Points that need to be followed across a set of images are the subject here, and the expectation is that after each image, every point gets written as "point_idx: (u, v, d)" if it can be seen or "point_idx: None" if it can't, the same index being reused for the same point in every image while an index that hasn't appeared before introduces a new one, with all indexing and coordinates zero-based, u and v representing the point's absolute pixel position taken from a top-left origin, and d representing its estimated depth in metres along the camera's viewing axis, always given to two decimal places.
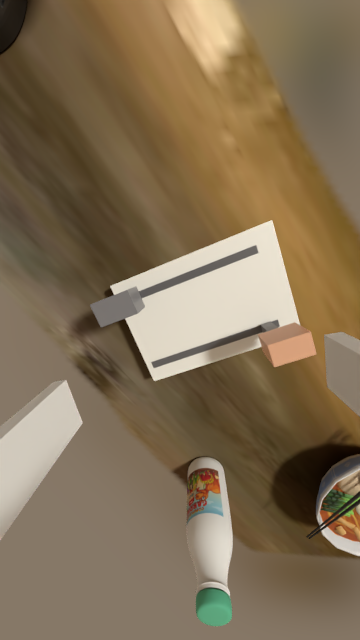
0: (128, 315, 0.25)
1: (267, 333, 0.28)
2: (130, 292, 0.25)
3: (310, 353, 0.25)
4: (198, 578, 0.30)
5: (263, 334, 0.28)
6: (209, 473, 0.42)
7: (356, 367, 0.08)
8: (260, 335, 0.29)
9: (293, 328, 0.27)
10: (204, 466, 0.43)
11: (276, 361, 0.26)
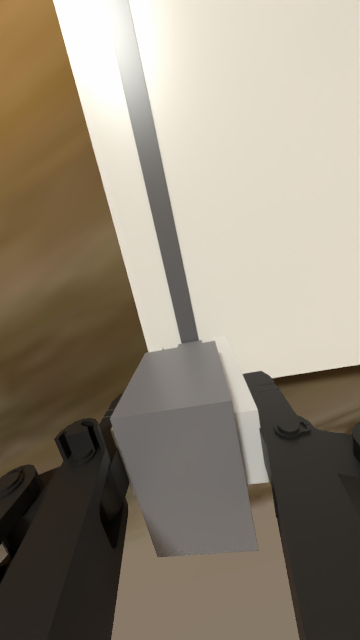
0: (231, 442, 0.05)
1: None
2: (132, 402, 0.06)
3: None
4: None
5: None
6: None
7: None
8: None
9: None
10: None
11: None
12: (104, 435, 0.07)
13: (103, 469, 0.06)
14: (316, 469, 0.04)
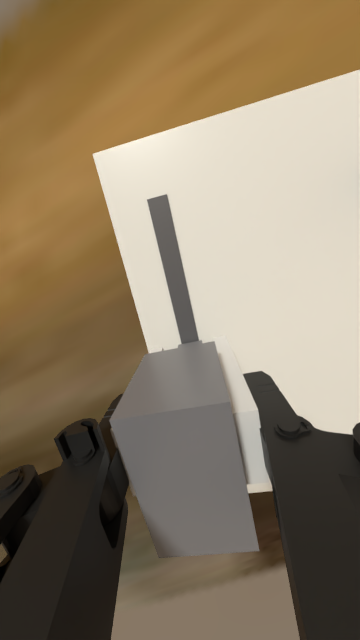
0: (230, 443, 0.05)
1: None
2: (131, 403, 0.06)
3: None
4: None
5: None
6: None
7: None
8: None
9: None
10: None
11: None
12: (104, 435, 0.07)
13: (103, 469, 0.06)
14: (316, 469, 0.04)
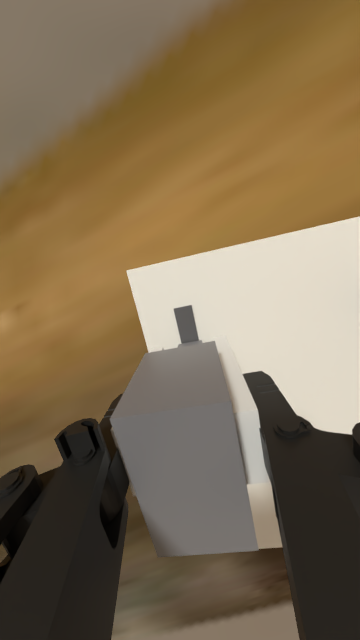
0: (231, 442, 0.05)
1: None
2: (131, 403, 0.06)
3: None
4: None
5: None
6: None
7: None
8: None
9: None
10: None
11: None
12: (104, 435, 0.07)
13: (103, 469, 0.06)
14: (316, 469, 0.04)
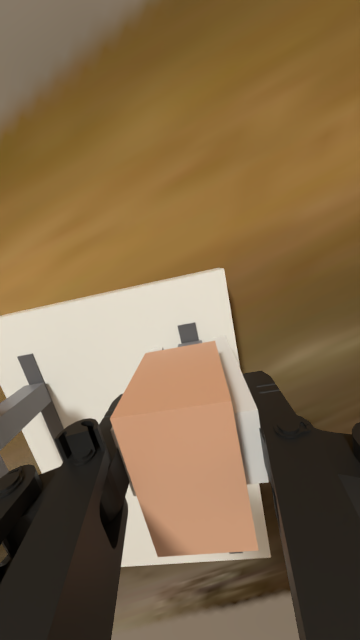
0: None
1: None
2: None
3: (223, 425, 0.05)
4: None
5: None
6: None
7: None
8: None
9: None
10: None
11: (232, 540, 0.06)
12: (104, 435, 0.07)
13: (103, 469, 0.06)
14: (316, 469, 0.04)
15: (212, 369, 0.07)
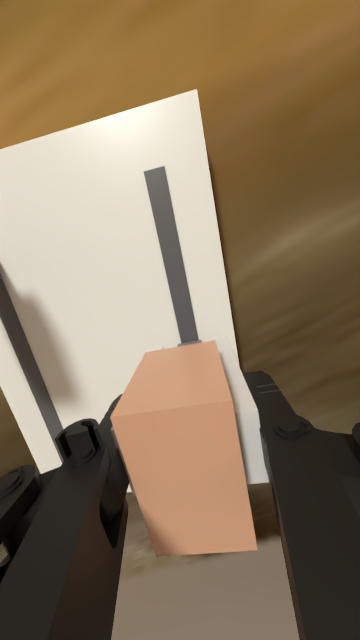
0: None
1: None
2: None
3: (223, 424, 0.05)
4: None
5: None
6: None
7: None
8: None
9: None
10: None
11: (231, 540, 0.06)
12: (104, 435, 0.07)
13: (103, 469, 0.06)
14: (316, 469, 0.04)
15: (213, 368, 0.07)
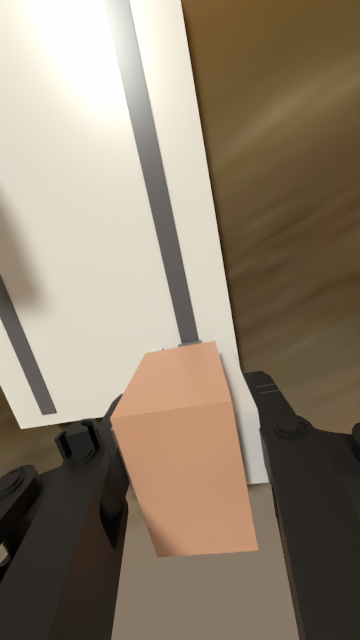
0: None
1: None
2: None
3: (223, 424, 0.05)
4: None
5: None
6: None
7: None
8: None
9: None
10: None
11: (232, 540, 0.06)
12: (104, 435, 0.07)
13: (103, 469, 0.06)
14: (315, 469, 0.04)
15: (212, 369, 0.07)
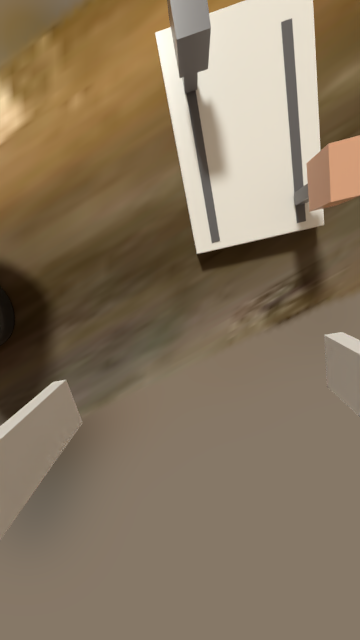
0: None
1: (312, 199, 0.24)
2: None
3: (359, 143, 0.20)
4: None
5: (311, 204, 0.24)
6: None
7: (356, 367, 0.08)
8: (312, 208, 0.24)
9: (315, 166, 0.22)
10: None
11: (356, 190, 0.21)
12: None
13: None
14: None
15: None
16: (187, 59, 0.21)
